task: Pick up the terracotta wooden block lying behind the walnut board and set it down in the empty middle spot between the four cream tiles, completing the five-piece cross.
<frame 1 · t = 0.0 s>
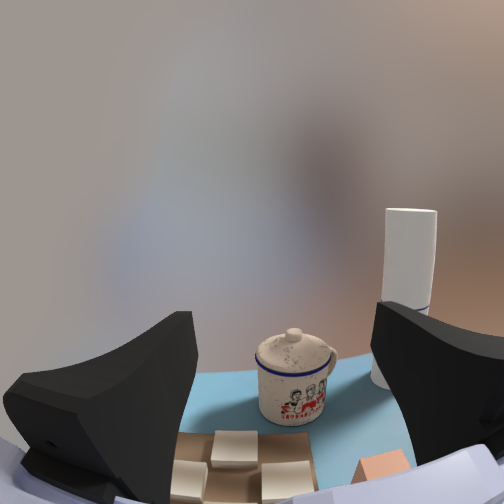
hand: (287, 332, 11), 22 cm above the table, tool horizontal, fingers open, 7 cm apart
teacup with lid: (300, 403, 35), on the table
cylindrical container: (392, 377, 38), on the table
terracotta block: (371, 501, 17), on the table
walnut board: (234, 492, 21), on the table
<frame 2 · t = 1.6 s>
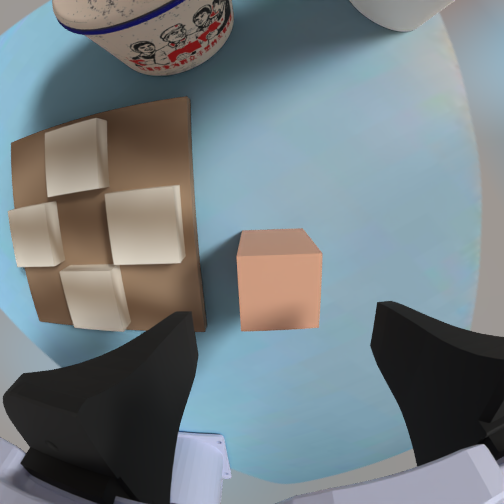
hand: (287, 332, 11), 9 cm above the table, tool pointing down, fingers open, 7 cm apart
teacup with lid: (191, 17, 15), on the table
terracotta block: (273, 258, 20), on the table
walnut board: (93, 225, 19), on the table
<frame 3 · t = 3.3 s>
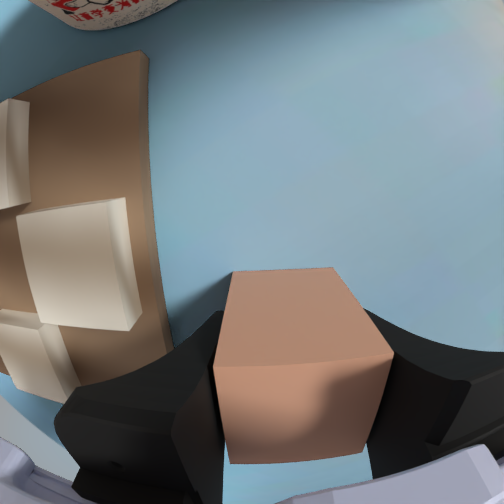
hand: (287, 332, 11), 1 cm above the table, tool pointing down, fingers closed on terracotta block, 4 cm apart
terracotta block: (283, 314, 12), on the table, touching gripper
walnut board: (23, 256, 11), on the table
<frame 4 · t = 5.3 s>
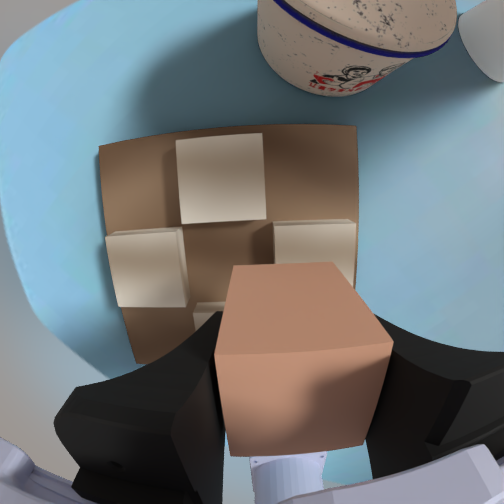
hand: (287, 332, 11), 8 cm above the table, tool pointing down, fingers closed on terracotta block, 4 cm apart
teacup with lid: (339, 34, 15), on the table
cylindrical container: (485, 46, 13), on the table
terracotta block: (284, 308, 12), point 7 cm above the table, touching gripper
walnut board: (230, 256, 19), on the table
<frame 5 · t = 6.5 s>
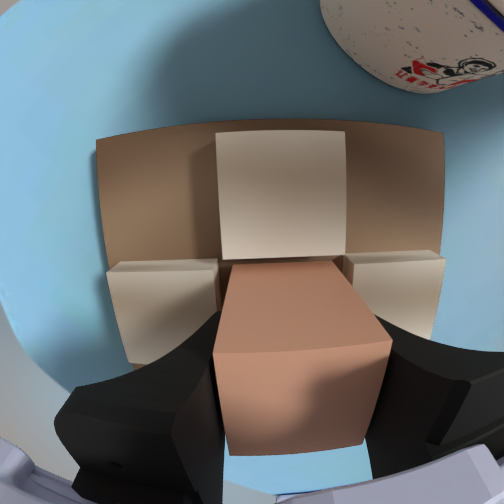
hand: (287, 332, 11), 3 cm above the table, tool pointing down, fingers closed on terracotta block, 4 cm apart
teacup with lid: (411, 19, 10), on the table
terracotta block: (283, 307, 12), point 2 cm above the table, touching gripper
walnut board: (280, 296, 14), on the table
when the fingers open (3 cm above the table, at t = 7.3 s): terracotta block stays where it is, resting on walnut board.
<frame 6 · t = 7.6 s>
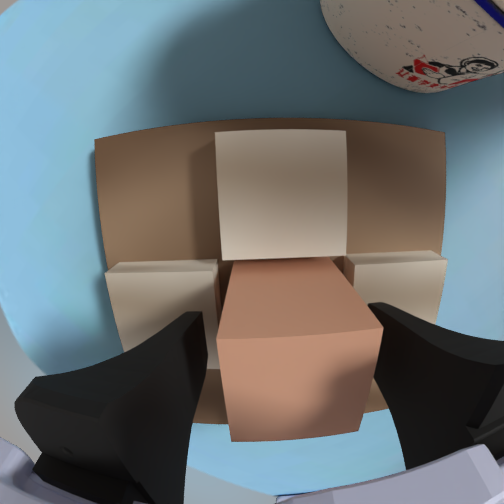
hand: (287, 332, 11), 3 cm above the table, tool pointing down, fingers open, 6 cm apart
teacup with lid: (412, 18, 10), on the table
terracotta block: (282, 301, 13), point 1 cm above the table, touching walnut board
walnut board: (280, 296, 14), on the table
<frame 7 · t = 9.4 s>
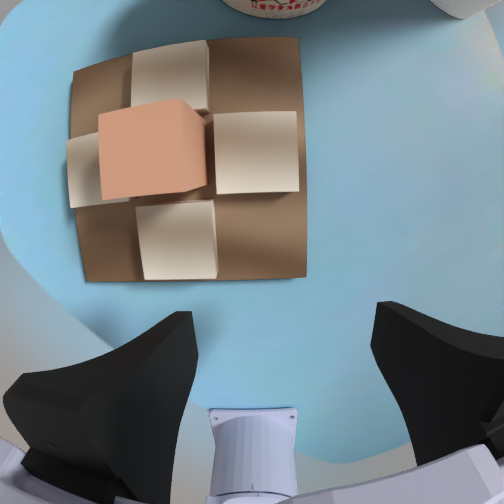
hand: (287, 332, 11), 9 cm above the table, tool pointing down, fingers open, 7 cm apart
terracotta block: (175, 155, 17), point 1 cm above the table, touching walnut board
walnut board: (179, 159, 18), on the table
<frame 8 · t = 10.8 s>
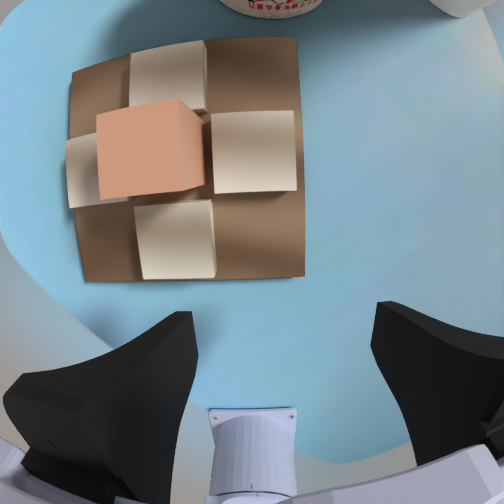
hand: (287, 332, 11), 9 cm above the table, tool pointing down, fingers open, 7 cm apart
terracotta block: (173, 155, 17), point 1 cm above the table, touching walnut board
walnut board: (177, 159, 18), on the table
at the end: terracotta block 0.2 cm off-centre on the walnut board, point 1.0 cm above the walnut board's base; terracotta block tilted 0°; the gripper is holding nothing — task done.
